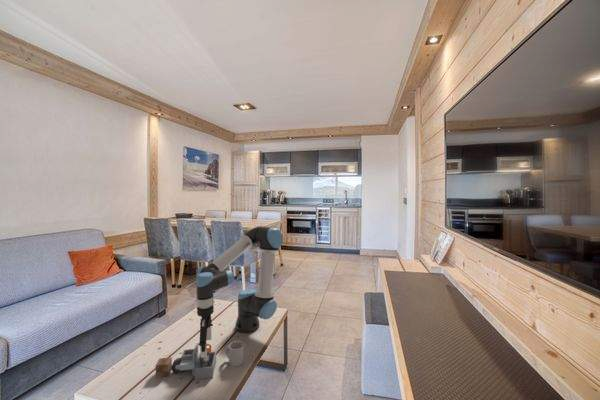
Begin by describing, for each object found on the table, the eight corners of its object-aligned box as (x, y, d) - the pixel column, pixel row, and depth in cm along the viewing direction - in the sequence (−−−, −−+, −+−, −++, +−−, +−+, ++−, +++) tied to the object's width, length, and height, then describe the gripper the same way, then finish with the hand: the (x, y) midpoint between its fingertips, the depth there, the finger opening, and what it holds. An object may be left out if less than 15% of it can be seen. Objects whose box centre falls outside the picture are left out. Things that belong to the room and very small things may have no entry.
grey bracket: (198, 363, 131) (198, 343, 130) (194, 376, 122) (194, 354, 121) (175, 365, 129) (174, 345, 128) (169, 379, 120) (169, 356, 119)
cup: (239, 368, 127) (239, 350, 127) (221, 364, 130) (221, 346, 130) (246, 358, 134) (246, 342, 134) (229, 355, 137) (229, 338, 137)
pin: (211, 365, 129) (211, 343, 128) (210, 371, 124) (210, 349, 124) (201, 366, 128) (201, 344, 127) (199, 372, 123) (199, 350, 123)
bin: (216, 360, 133) (216, 351, 132) (212, 377, 121) (212, 367, 121) (199, 362, 131) (199, 353, 131) (194, 379, 119) (194, 369, 119)
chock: (171, 369, 126) (171, 357, 126) (168, 376, 121) (168, 364, 121) (159, 370, 125) (159, 358, 125) (155, 378, 120) (155, 365, 120)
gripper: (201, 295, 137) (203, 334, 138) (191, 319, 112) (192, 366, 113) (216, 294, 138) (217, 332, 139) (209, 317, 114) (210, 364, 115)
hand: (206, 347), depth 126 cm, fingers open, 13 cm apart
